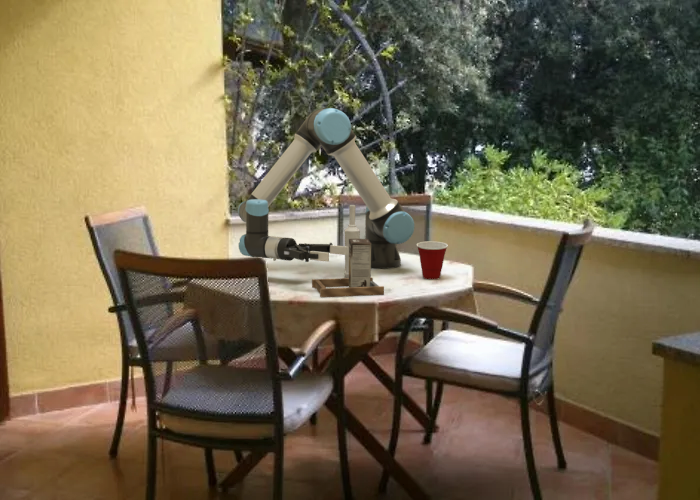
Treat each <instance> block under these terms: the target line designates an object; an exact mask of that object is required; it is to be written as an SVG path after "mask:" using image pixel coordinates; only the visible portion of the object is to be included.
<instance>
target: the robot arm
mask: <svg viewBox="0 0 700 500" xmlns="http://www.w3.org/2000/svg"><path fill="white" fill-rule="evenodd" d="M356 137H357V135H356V134H355V133H354V130H353V129H352V125H351V120H350V119H349V117H348V115H347V114H346V113H344V112H343V111H342V110H339V109H337V108H333V107H332V108H331V107H330V108H328V107H327V108H319V109H316V110H314V111H312V112H311V113H310V114H309V115H308V116H307V117H306V119H305V120H304V121H303V123H302V124H301V125H300V126H299V128H298V130H297V131H296V132H295V133H294V139H293V141H292V142H291V143H290V144H289V146H288V147H287V148H286V150H285V151H284V152H283V153H282V154H281V156H280V157H279V158H278V159H277V161H276V162H275V164H273V166H272V167H271V169H270V170H269V171H268V172H267V173H266V175H265V176H264V177H263V179H262V180H261V181H260V182H259V184H258V185H256V187H255V189H254V190H253V192H252V193H251V194H250V195H249V196H248V198H247V199H246V200H245V201H243V202H241V203H240V204H239V205H238V208H237V214H238V217H239V218H240V219H241V221H242V222H244V223H245V229H246V230H245V234H242V235H241V236H240V238H239V242H238V250H239V252H240V255H241V254H242V256H246V257H250V258H258V257H262V258H261V259H268V260H269V259H270V260H273V261H277V260H281V261H287V262H290V261H293V260H295V259H296V260H299V261H305V263H309V262H310V261H318V262H319V261H320V262H327V263H328V262H330V254H333V255H343V256H345V255H349V247H346V246H345V245H344V246H343V245H336V244H335V245H333V243H332V242H329V243H305V242H304V243H298V244H297V241H296V239H294V238H292V237H284V236H275V235H274V236H273V235H271V236H270V235H269V212H270V210H269V206H271V204H272V203H273V202H274V200H275V199H276V198H277V197H278V196H279V194H280V193H281V191H282V190H283V189H284V187H286V185H287V184H288V182H289V181H290V180H291V179H292V178H293V176H294V175H295V174H296V173H297V171H298V170H299V169H300V167H302V165H303V164H304V162H305V161H306V160H307V159H308V158H309V156H310V155H311V154H312V153H316V152H317V151H318V149H319V148H320V147H322V149H323V150H324V151H325V153H326V154H327V155H328V156H333V157H334V158H335V161H336V162H337V163H338V164H339V166H340V167H341V169H342V171H343V173H344V174H345V175H346V177H347V179H348V180H349V181H350V184H352V186H353V187H354V189H355V190H356V192H357V194H358V196H359V197H360V198H361V199H362V201H363V203H364V204H365V206H366V207H365V213H364V214H365V235H364V237H365V238H364V239H368V240H369V241H370V243H371V269H391V268H392V269H394V268H397V267H400V266H401V265H402V262H401V261H402V258H401V256H400V252H399V248H398V247H397V245H400V244H404V243H406V242H407V241H409V240H410V239H411V237H412V236H413V234H414V231H415V220H414V219H413V217H412V216H411V215H410V214H409V213H408V212H406V211H405V210H404V209H403V207H402V206H401V204H400V203H399V200H397V199H395V198H391V197H390V195H389V193H388V192H387V190H386V188H385V187H384V185H383V184H382V182H381V181H380V179H379V177H378V176H377V175H376V173H375V172H374V169H372V167H371V165H370V164H369V162H368V161H367V159H366V157H365V156H364V155H363V153H362V151H361V150H360V149H359V147H358V145H357V144H356V142H355V141H356Z"/></svg>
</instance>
